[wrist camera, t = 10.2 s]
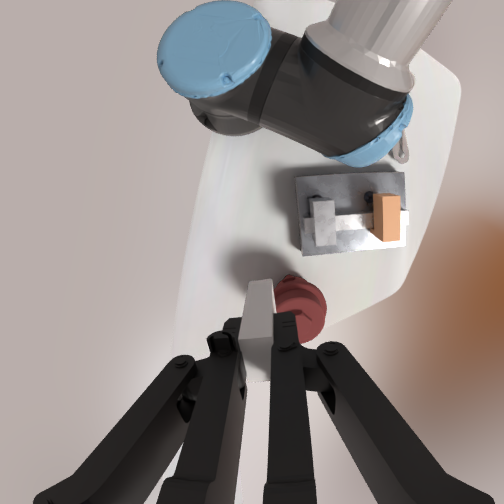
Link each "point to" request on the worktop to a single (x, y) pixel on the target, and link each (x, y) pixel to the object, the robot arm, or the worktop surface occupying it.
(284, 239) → the worktop surface
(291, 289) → the mechanical component
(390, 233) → the block
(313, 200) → the bar
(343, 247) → the hole plate
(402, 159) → the grey spoon
